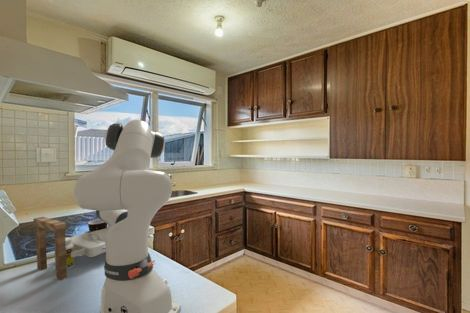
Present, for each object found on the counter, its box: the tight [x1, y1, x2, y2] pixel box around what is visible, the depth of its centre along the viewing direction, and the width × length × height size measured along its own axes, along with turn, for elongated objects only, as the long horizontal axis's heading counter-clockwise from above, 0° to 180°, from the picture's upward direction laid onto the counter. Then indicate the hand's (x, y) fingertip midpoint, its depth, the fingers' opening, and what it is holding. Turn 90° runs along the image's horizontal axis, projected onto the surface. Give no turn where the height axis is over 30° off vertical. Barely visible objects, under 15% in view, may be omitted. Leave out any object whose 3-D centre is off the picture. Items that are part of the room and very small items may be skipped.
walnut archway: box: [33, 216, 68, 281], centre depth 93 cm, size 18×3×20 cm, turn 59°
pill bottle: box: [54, 236, 76, 270], centre depth 97 cm, size 6×6×11 cm
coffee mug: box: [87, 218, 108, 231], centre depth 123 cm, size 12×9×10 cm
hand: (63, 252), depth 97 cm, fingers open, 8 cm apart
